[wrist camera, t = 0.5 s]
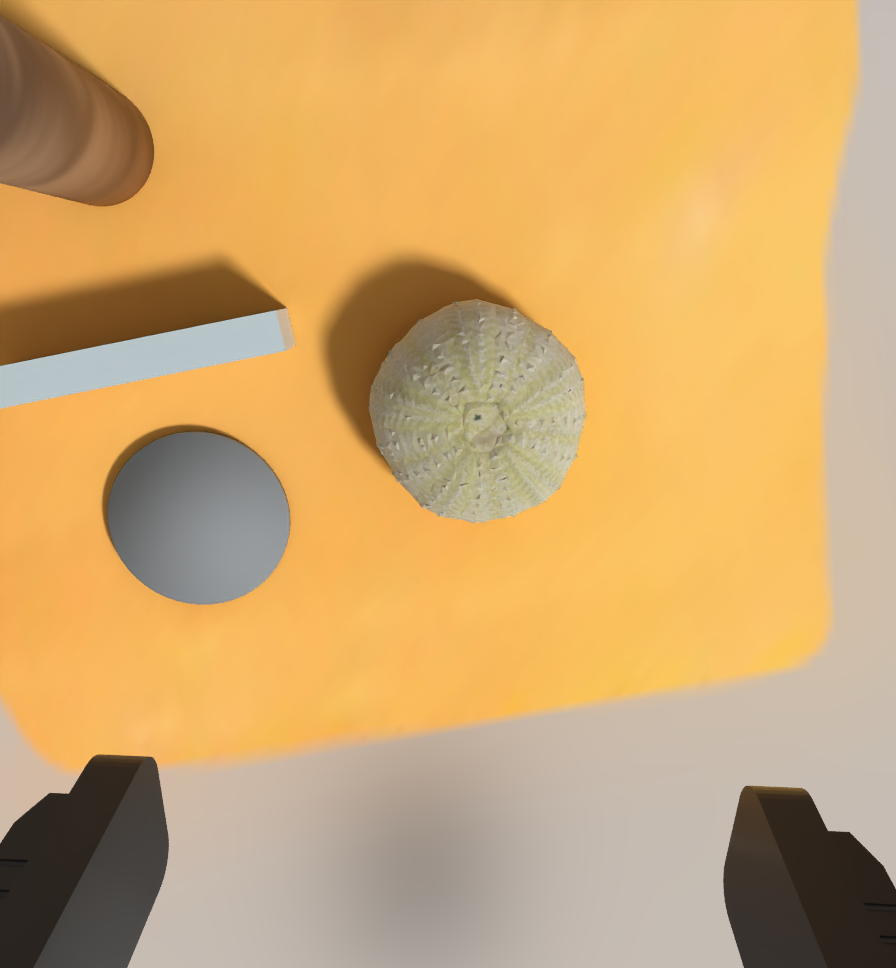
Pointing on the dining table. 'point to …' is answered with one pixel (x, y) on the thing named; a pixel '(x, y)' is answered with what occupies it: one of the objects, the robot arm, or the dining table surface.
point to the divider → (145, 357)
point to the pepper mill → (66, 127)
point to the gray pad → (199, 517)
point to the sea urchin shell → (478, 411)
